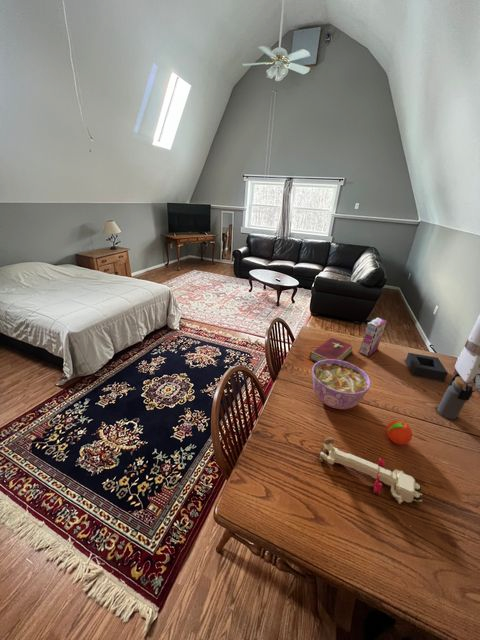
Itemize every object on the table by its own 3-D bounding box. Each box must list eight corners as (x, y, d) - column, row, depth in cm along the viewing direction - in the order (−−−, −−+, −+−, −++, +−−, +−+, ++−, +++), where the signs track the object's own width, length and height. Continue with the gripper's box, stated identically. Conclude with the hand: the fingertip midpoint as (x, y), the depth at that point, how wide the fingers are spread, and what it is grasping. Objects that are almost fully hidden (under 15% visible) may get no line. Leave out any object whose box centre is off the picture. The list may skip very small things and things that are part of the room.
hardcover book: (309, 358, 125) (310, 351, 123) (329, 343, 139) (330, 336, 137) (333, 369, 118) (335, 361, 116) (352, 352, 132) (354, 344, 130)
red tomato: (390, 451, 81) (397, 434, 78) (376, 433, 87) (381, 416, 84) (413, 448, 82) (421, 431, 79) (397, 430, 88) (403, 414, 85)
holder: (434, 365, 124) (437, 357, 122) (444, 381, 113) (448, 372, 112) (405, 360, 127) (408, 352, 125) (412, 375, 116) (415, 366, 115)
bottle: (459, 420, 93) (479, 388, 86) (441, 418, 94) (459, 385, 87) (451, 408, 98) (468, 376, 91) (434, 405, 99) (450, 374, 92)
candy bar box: (368, 357, 128) (377, 326, 121) (358, 352, 132) (366, 322, 125) (378, 349, 135) (387, 320, 128) (368, 345, 139) (376, 316, 132)
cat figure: (316, 470, 75) (421, 519, 63) (318, 448, 72) (430, 494, 60) (325, 445, 83) (421, 484, 71) (328, 424, 80) (429, 460, 67)
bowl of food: (322, 423, 89) (329, 397, 85) (298, 385, 107) (302, 361, 102) (374, 416, 94) (384, 390, 89) (343, 380, 111) (349, 357, 106)
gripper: (511, 365, 76) (483, 413, 83) (481, 337, 90) (460, 380, 98) (479, 359, 77) (455, 407, 85) (455, 333, 92) (436, 376, 100)
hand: (458, 392), depth 92 cm, fingers closed on bottle, 5 cm apart
